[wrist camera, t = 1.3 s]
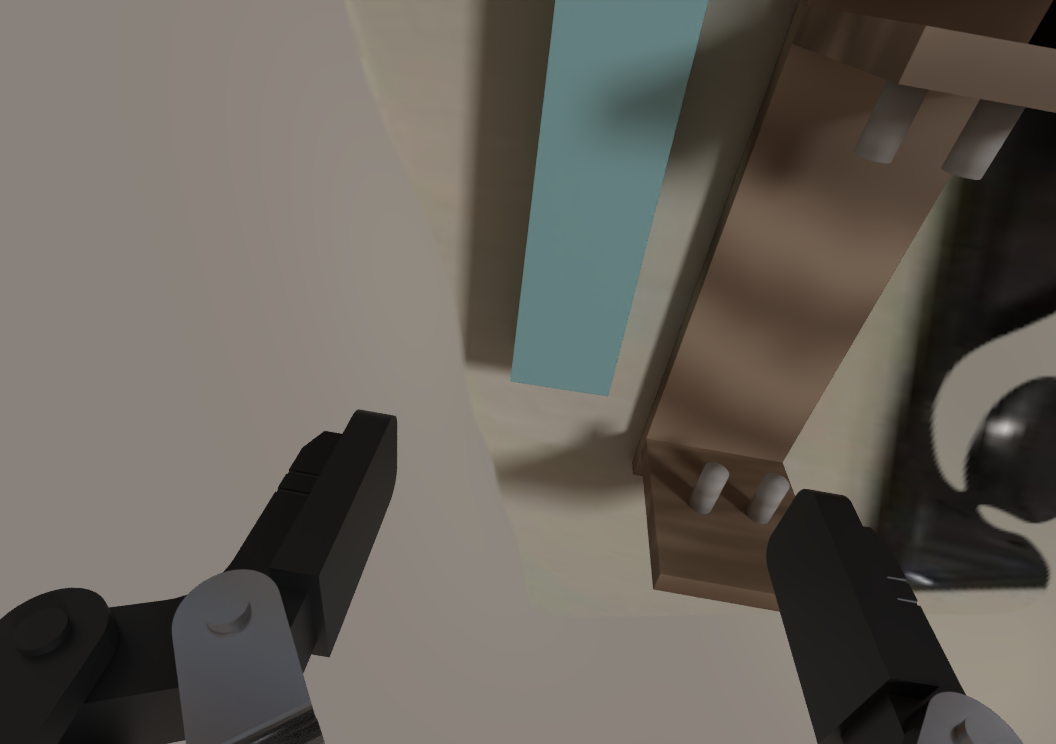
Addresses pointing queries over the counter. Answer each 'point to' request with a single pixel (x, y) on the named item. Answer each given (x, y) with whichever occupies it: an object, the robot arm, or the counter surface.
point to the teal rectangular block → (598, 181)
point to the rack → (817, 255)
